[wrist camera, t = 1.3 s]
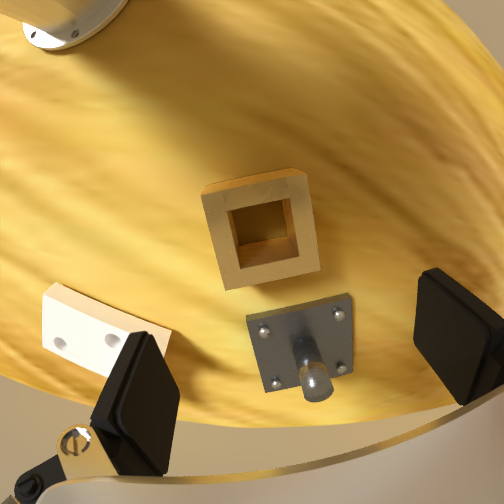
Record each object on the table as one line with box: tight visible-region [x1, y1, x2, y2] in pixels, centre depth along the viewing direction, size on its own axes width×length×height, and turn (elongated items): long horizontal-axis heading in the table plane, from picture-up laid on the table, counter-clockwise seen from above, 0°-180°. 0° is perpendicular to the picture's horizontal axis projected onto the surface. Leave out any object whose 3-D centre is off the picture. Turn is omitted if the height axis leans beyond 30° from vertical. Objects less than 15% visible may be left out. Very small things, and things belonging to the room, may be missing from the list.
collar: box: [201, 168, 321, 291], centre depth 23 cm, size 7×7×5 cm
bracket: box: [42, 282, 172, 377], centre depth 25 cm, size 13×7×8 cm, turn 67°
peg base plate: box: [246, 293, 353, 402], centre depth 26 cm, size 10×10×7 cm
